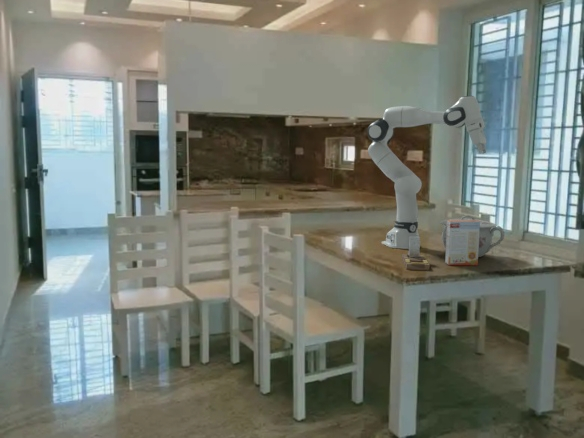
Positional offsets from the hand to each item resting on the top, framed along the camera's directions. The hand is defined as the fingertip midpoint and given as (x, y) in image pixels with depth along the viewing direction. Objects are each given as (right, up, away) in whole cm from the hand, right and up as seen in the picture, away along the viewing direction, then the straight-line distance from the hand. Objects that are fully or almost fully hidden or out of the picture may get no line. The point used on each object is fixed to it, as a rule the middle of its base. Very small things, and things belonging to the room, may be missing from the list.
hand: (482, 153), depth 291 cm
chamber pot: (-8, -52, +2) cm, 53 cm away
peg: (-38, -53, -16) cm, 68 cm away
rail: (-39, -54, -22) cm, 70 cm away
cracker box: (-17, -55, -19) cm, 60 cm away
